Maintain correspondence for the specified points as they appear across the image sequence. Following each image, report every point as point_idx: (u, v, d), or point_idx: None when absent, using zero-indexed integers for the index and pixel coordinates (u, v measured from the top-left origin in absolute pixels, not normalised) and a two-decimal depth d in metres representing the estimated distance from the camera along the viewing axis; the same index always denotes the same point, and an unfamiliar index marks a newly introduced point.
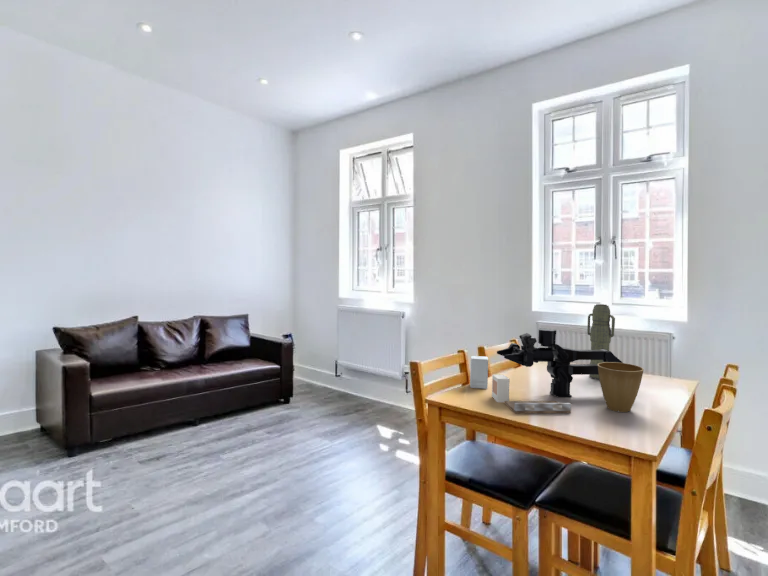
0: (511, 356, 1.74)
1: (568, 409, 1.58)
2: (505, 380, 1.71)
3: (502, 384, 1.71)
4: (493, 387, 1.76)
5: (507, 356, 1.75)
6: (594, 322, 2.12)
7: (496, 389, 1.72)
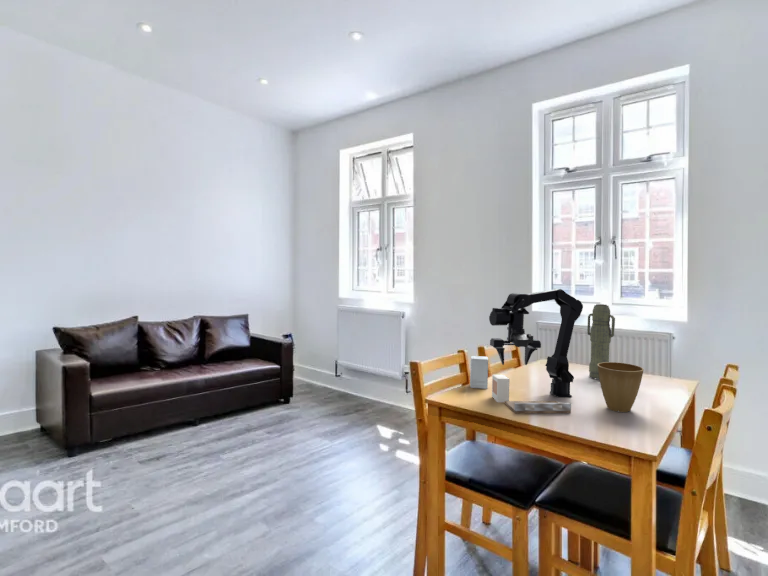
0: None
1: (568, 409, 1.58)
2: (505, 380, 1.71)
3: (502, 384, 1.71)
4: (493, 387, 1.76)
5: None
6: (594, 322, 2.12)
7: (496, 389, 1.72)
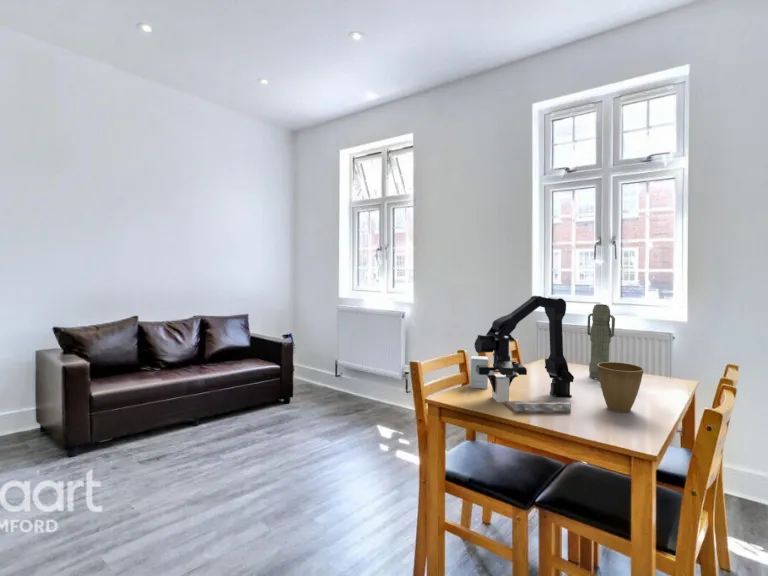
0: None
1: (568, 409, 1.58)
2: (505, 380, 1.71)
3: (502, 384, 1.71)
4: None
5: None
6: (594, 322, 2.12)
7: (496, 389, 1.72)
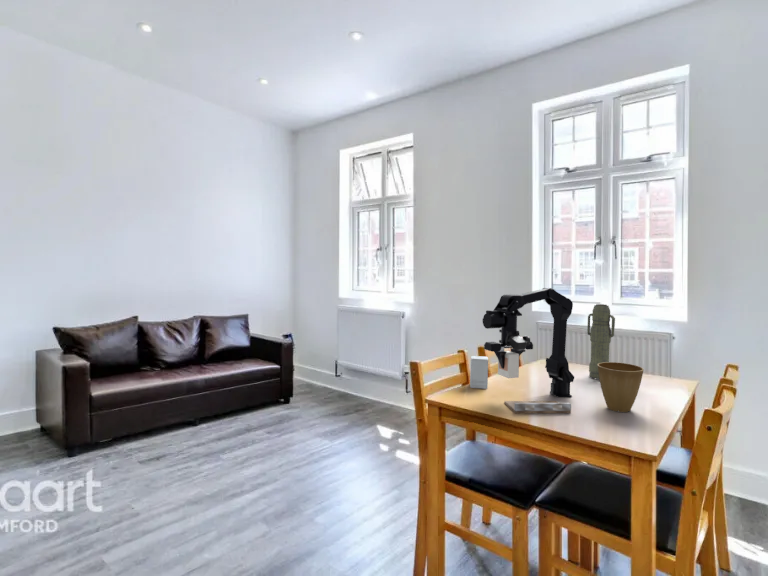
0: None
1: (568, 409, 1.58)
2: (515, 355, 1.69)
3: (513, 360, 1.68)
4: None
5: None
6: (594, 322, 2.12)
7: (506, 366, 1.69)
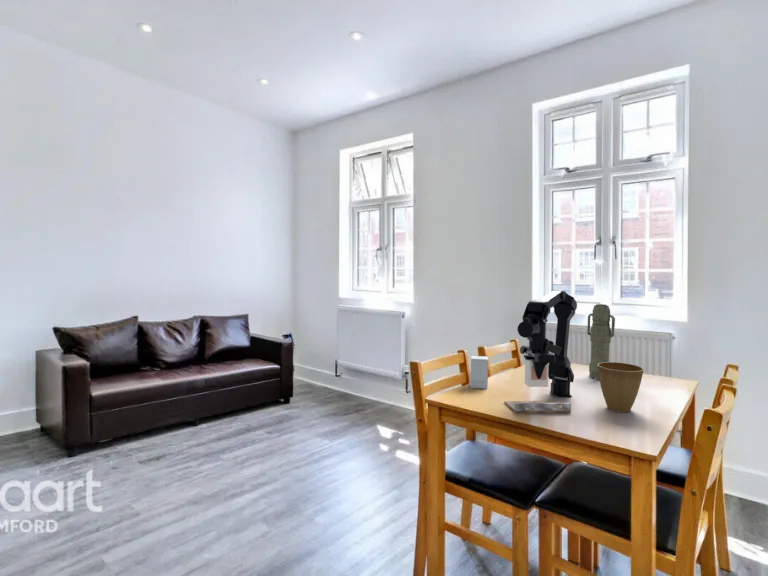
0: None
1: (568, 409, 1.58)
2: None
3: None
4: (534, 375, 1.62)
5: None
6: (594, 322, 2.12)
7: (545, 374, 1.62)
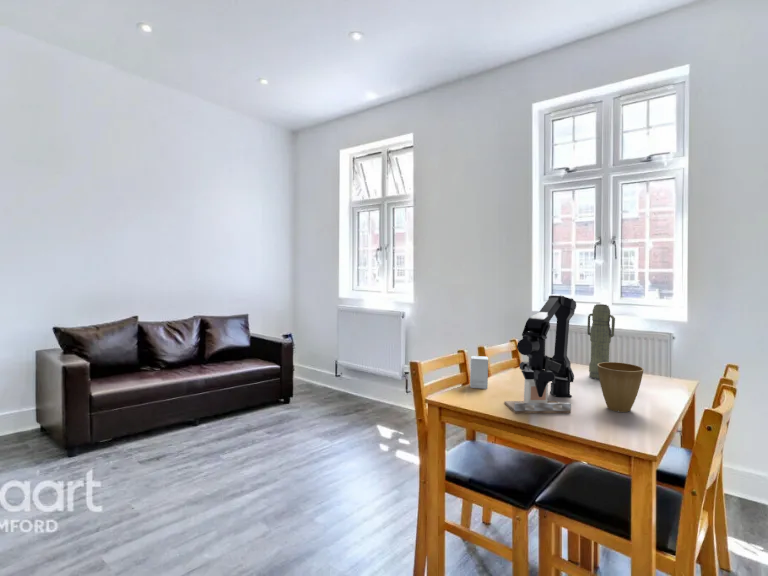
0: None
1: (568, 409, 1.58)
2: None
3: None
4: (533, 395, 1.62)
5: None
6: (594, 322, 2.12)
7: (544, 394, 1.63)
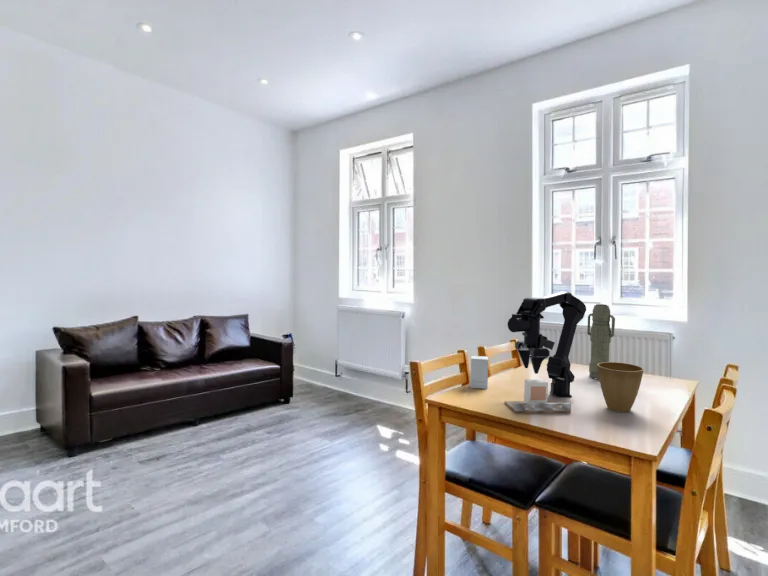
0: None
1: (568, 409, 1.58)
2: None
3: None
4: (533, 395, 1.62)
5: None
6: (594, 322, 2.12)
7: (544, 394, 1.63)
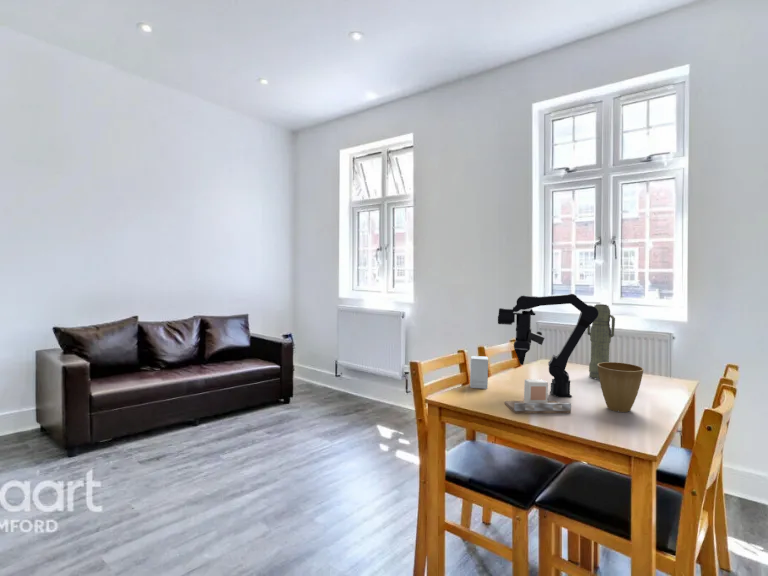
0: None
1: (568, 409, 1.58)
2: None
3: None
4: (533, 395, 1.62)
5: None
6: (594, 322, 2.12)
7: (544, 394, 1.63)
